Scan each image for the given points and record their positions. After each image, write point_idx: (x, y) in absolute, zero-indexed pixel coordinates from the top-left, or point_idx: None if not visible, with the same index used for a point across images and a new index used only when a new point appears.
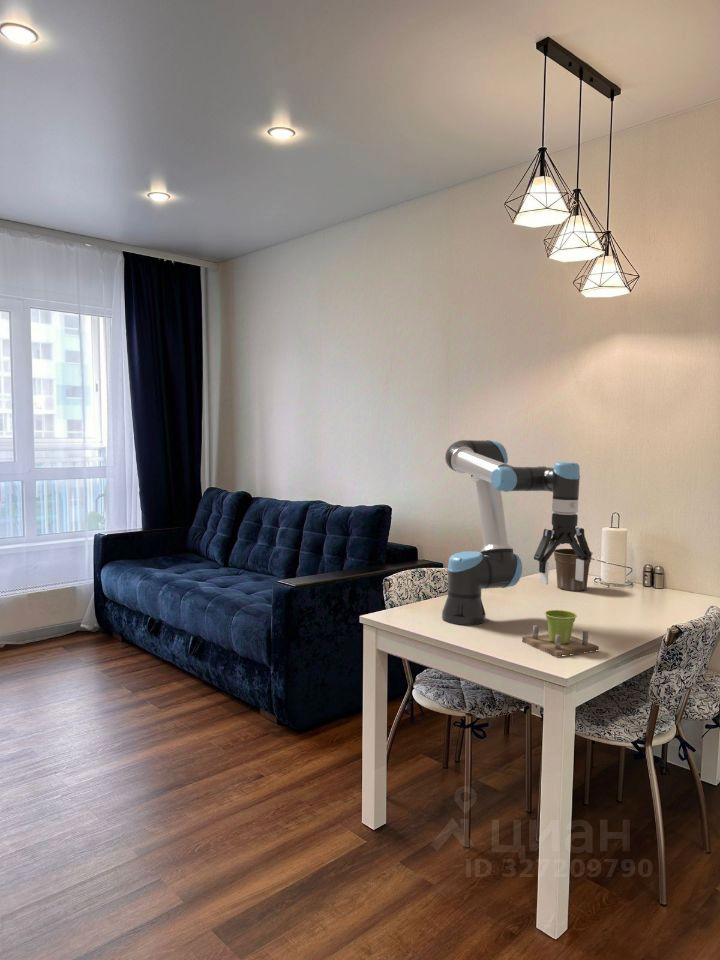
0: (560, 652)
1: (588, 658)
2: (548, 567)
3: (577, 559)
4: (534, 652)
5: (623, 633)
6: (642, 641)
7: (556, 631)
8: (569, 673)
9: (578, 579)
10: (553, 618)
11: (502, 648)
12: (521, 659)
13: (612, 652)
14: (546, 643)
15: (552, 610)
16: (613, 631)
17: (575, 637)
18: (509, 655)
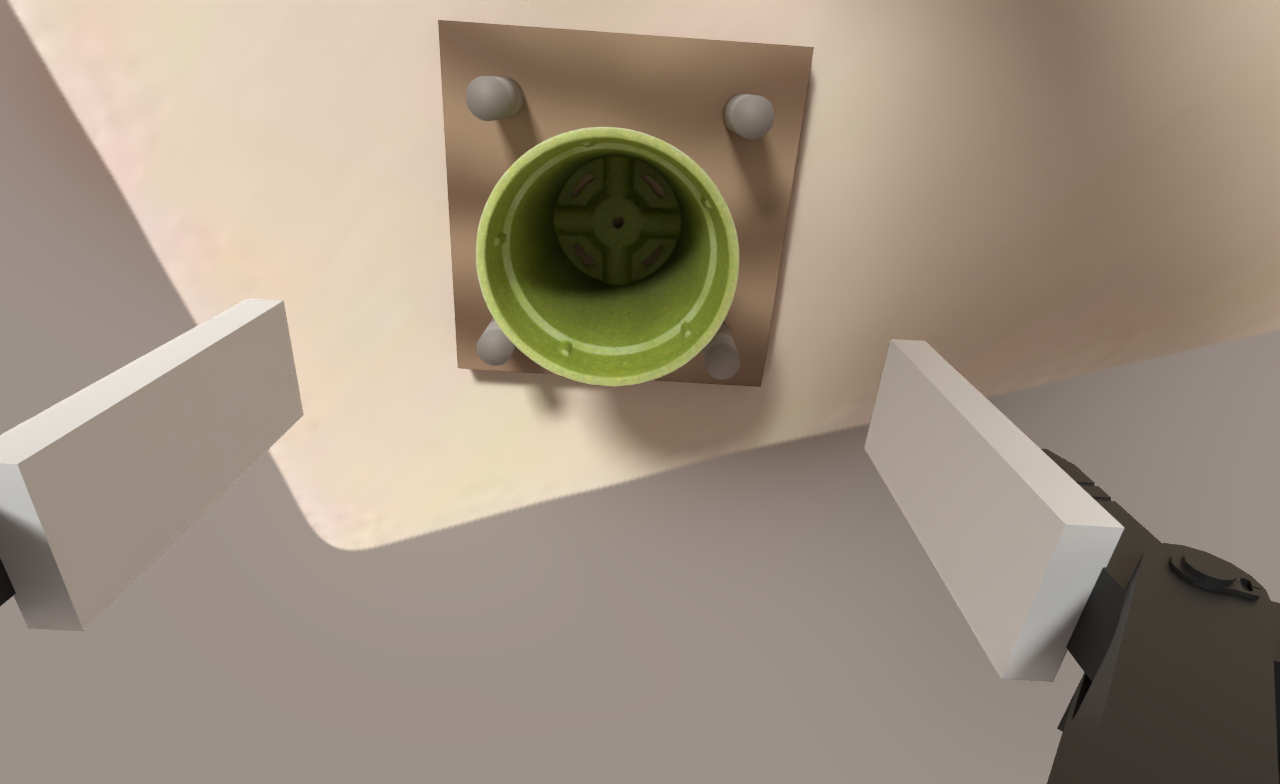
0: (485, 368)
1: (613, 432)
2: (146, 563)
3: (1050, 557)
4: (397, 242)
5: (1243, 177)
6: (1149, 349)
7: (543, 278)
8: (380, 532)
9: (880, 406)
10: (499, 297)
11: (236, 90)
12: None
13: (808, 415)
14: None
15: (629, 138)
16: (1242, 108)
17: (783, 197)
18: (219, 224)
